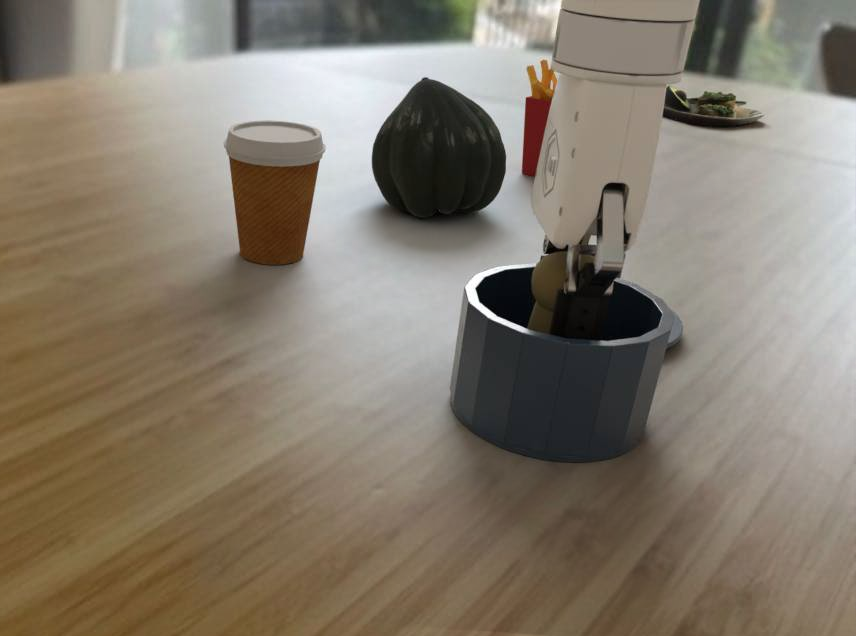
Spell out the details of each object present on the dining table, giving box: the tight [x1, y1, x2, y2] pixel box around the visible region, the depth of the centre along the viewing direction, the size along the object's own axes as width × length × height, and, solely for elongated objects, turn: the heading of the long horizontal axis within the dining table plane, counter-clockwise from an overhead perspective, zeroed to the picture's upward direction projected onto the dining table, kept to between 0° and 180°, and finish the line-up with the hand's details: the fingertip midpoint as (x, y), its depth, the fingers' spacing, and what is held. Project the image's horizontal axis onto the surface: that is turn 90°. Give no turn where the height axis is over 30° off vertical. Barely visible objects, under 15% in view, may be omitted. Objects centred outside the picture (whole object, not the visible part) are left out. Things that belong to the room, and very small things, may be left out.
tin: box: [449, 262, 675, 463], centre depth 63 cm, size 14×14×8 cm
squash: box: [371, 76, 507, 219], centre depth 102 cm, size 14×15×15 cm
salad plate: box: [662, 84, 764, 128], centre depth 161 cm, size 19×18×5 cm
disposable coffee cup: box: [223, 120, 327, 266], centre depth 87 cm, size 10×10×12 cm
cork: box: [527, 252, 594, 334], centre depth 62 cm, size 6×6×11 cm
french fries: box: [521, 59, 558, 178], centre depth 119 cm, size 9×8×15 cm
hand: (563, 326), depth 62 cm, fingers closed on cork, 5 cm apart
